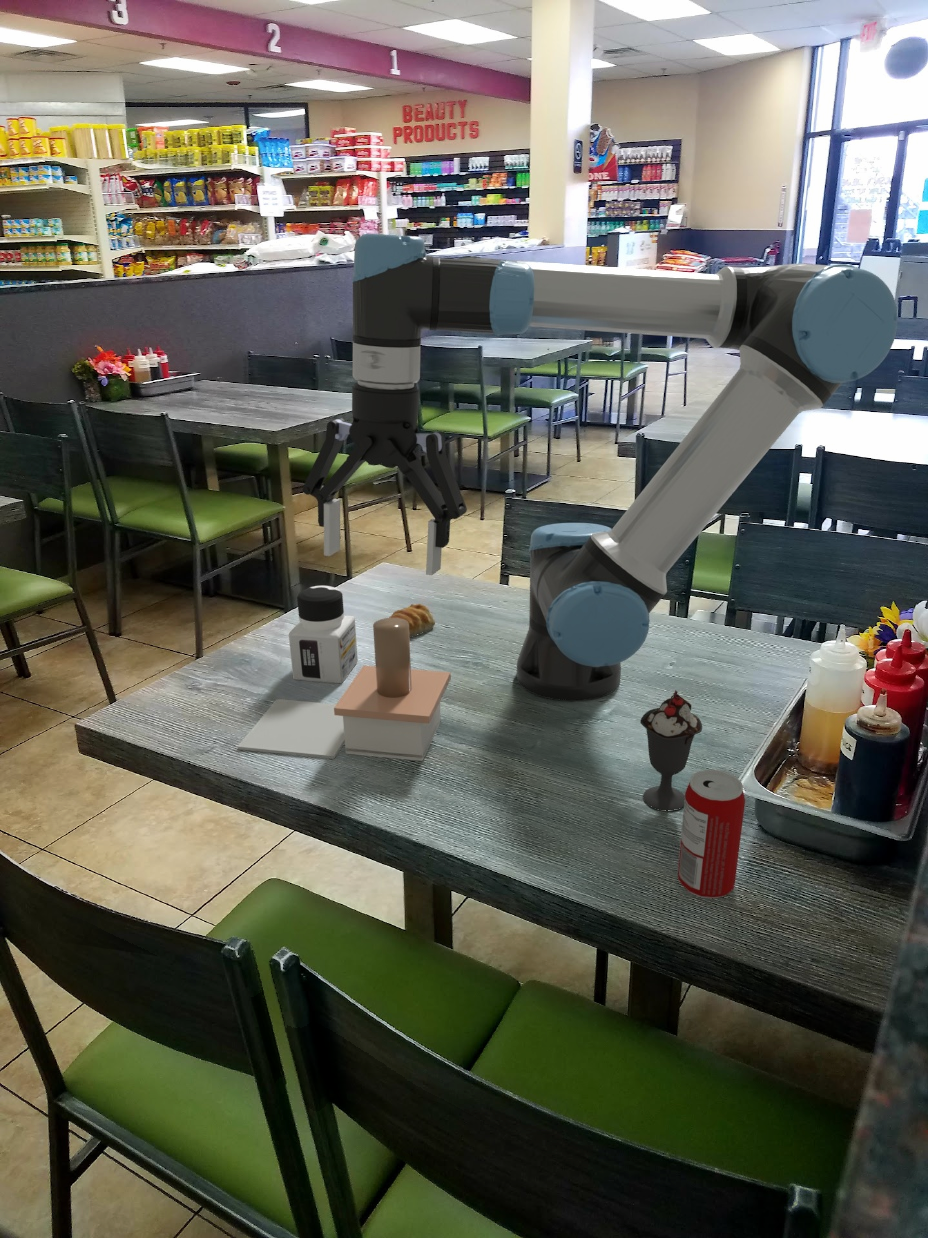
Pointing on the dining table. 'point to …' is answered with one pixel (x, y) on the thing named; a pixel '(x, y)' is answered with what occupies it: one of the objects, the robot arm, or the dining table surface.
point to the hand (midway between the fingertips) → (381, 562)
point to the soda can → (711, 833)
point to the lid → (393, 681)
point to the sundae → (669, 748)
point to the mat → (297, 730)
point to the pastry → (416, 618)
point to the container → (322, 637)
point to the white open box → (389, 737)
